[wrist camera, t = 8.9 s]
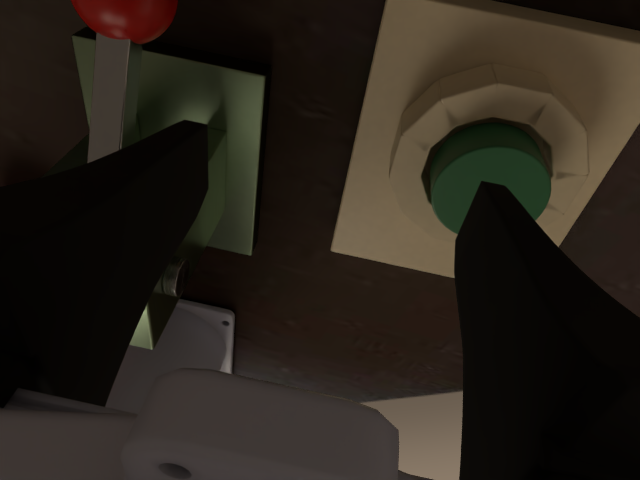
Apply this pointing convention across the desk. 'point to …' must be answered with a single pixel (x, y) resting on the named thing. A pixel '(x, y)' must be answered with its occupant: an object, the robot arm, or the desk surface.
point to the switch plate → (481, 115)
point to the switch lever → (119, 65)
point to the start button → (487, 170)
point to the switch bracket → (223, 151)
